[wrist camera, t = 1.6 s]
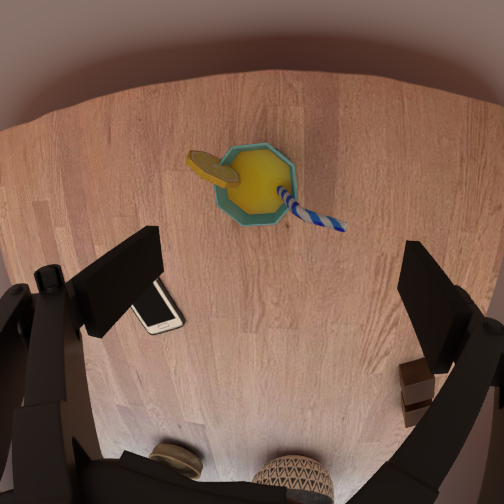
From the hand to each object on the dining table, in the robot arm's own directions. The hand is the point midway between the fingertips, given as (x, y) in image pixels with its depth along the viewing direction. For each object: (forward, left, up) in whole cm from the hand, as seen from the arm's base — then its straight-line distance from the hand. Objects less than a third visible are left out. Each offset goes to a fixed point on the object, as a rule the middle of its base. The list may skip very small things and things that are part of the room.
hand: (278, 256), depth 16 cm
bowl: (+47, +53, -22) cm, 74 cm away
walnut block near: (-10, +34, -22) cm, 42 cm away
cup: (+2, -2, -22) cm, 22 cm away
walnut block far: (-10, +41, -22) cm, 48 cm away
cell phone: (+27, +8, -22) cm, 36 cm away
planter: (+17, +58, -22) cm, 64 cm away
